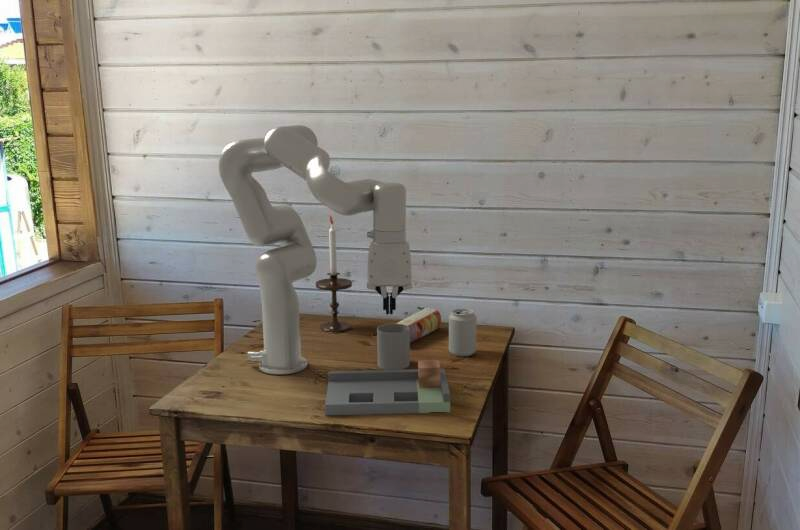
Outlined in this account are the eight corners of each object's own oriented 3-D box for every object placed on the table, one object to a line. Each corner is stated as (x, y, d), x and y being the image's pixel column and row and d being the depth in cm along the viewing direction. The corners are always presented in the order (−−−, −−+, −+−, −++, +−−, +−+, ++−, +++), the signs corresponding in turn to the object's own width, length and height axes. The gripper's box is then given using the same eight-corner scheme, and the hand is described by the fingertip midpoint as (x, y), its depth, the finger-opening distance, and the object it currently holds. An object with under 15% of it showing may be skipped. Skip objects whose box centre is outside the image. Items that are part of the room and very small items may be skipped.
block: (419, 388, 190) (419, 367, 189) (418, 380, 195) (417, 360, 194) (440, 387, 190) (440, 367, 189) (438, 380, 195) (438, 360, 194)
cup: (406, 371, 209) (405, 333, 207) (374, 369, 210) (374, 332, 208) (412, 360, 217) (411, 324, 215) (381, 358, 218) (381, 322, 216)
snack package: (403, 350, 226) (403, 327, 224) (384, 346, 229) (383, 323, 228) (442, 330, 243) (442, 308, 241) (423, 327, 246) (423, 305, 245)
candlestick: (332, 336, 238) (328, 218, 230) (310, 328, 246) (305, 214, 238) (360, 328, 245) (357, 214, 237) (338, 321, 253) (334, 210, 245)
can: (459, 347, 227) (459, 305, 224) (481, 352, 222) (482, 310, 220) (443, 354, 221) (443, 311, 219) (465, 359, 217) (466, 316, 214)
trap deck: (325, 415, 182) (324, 396, 181) (329, 388, 197) (328, 371, 196) (450, 412, 182) (450, 393, 181) (444, 386, 198) (444, 368, 197)
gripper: (356, 239, 184) (357, 317, 188) (422, 240, 184) (421, 317, 188) (357, 233, 191) (358, 308, 195) (421, 233, 191) (420, 308, 195)
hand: (389, 312), depth 192 cm, fingers closed
